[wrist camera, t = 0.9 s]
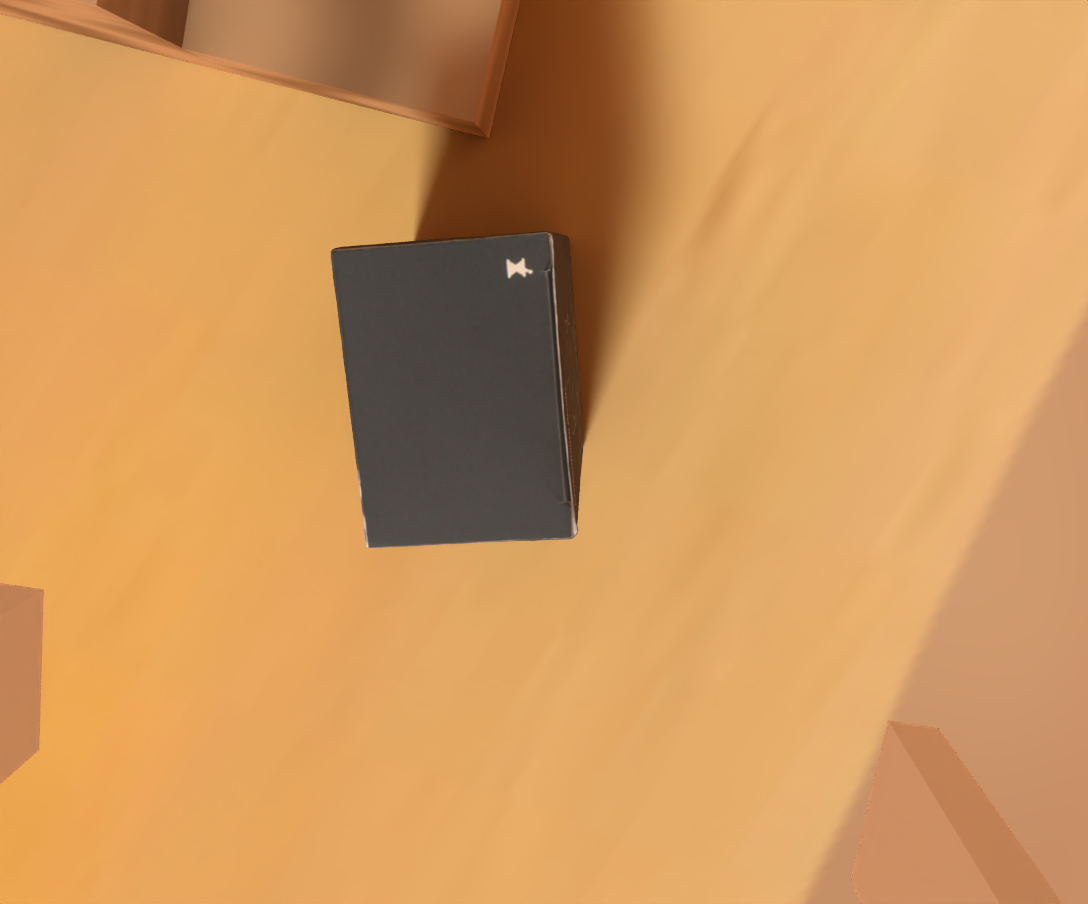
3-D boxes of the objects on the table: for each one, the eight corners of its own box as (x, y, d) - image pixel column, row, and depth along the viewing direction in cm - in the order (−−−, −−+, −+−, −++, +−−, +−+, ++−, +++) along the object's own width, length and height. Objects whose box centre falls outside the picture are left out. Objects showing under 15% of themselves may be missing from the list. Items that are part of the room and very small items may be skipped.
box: (408, 246, 33) (324, 243, 23) (570, 234, 33) (559, 225, 23) (430, 466, 35) (361, 555, 24) (585, 456, 34) (581, 543, 24)
